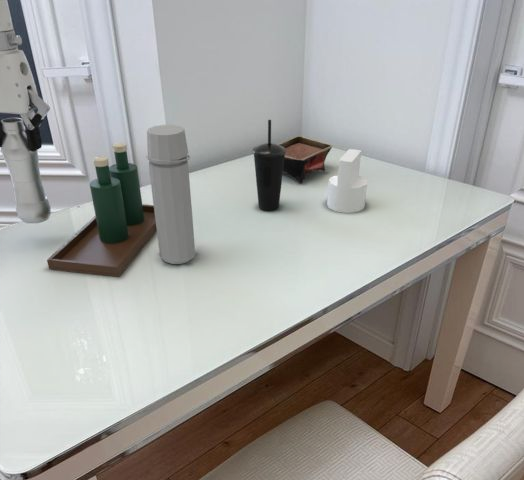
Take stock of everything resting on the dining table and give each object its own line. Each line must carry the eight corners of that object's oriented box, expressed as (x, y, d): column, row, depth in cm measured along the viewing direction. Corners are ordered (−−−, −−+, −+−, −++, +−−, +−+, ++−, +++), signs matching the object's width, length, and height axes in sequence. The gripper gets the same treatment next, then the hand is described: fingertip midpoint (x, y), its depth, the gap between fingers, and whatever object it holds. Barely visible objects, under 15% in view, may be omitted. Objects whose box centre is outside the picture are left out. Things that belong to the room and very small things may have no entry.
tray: (49, 269, 108) (46, 259, 106) (111, 210, 131) (110, 201, 130) (118, 277, 105) (116, 267, 104) (170, 215, 128) (169, 206, 127)
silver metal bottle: (26, 214, 117) (0, 115, 105) (57, 214, 117) (35, 116, 105) (14, 226, 112) (-14, 124, 100) (47, 227, 112) (23, 125, 100)
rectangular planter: (335, 178, 153) (339, 140, 148) (296, 186, 141) (299, 145, 136) (294, 171, 161) (296, 134, 156) (254, 177, 149) (255, 138, 144)
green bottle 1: (95, 242, 116) (79, 162, 106) (107, 230, 121) (93, 152, 110) (122, 244, 115) (108, 164, 105) (133, 232, 120) (121, 154, 109)
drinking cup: (291, 208, 131) (294, 121, 119) (264, 216, 128) (265, 126, 116) (272, 198, 136) (273, 113, 124) (246, 205, 133) (245, 118, 121)
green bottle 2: (113, 224, 123) (99, 148, 113) (123, 213, 128) (111, 139, 117) (138, 226, 122) (127, 149, 112) (148, 216, 127) (138, 141, 116)
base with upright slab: (359, 215, 128) (365, 163, 121) (322, 209, 131) (326, 158, 124) (368, 201, 135) (374, 151, 128) (332, 196, 138) (336, 147, 130)
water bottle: (188, 268, 108) (177, 137, 93) (152, 263, 110) (135, 133, 95) (206, 248, 115) (197, 123, 100) (171, 243, 117) (158, 120, 102)
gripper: (50, 41, 96) (70, 145, 107) (-39, 36, 99) (-11, 138, 110) (27, 48, 90) (50, 158, 101) (-67, 42, 93) (-34, 149, 104)
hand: (18, 146), depth 105 cm, fingers closed on silver metal bottle, 6 cm apart
